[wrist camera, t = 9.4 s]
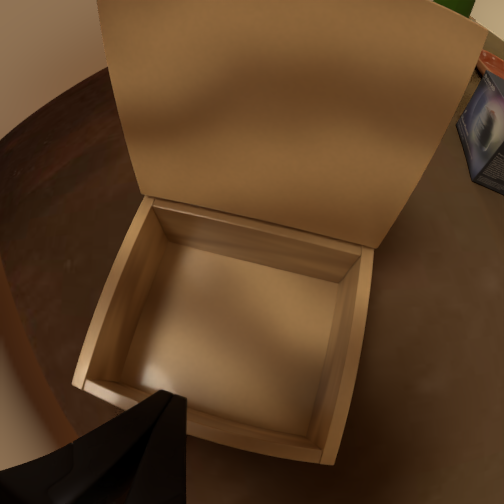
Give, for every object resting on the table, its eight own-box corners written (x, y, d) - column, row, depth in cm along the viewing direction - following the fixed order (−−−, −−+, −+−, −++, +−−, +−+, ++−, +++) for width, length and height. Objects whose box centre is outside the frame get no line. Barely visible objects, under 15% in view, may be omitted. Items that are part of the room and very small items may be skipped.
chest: (311, 446, 18) (334, 465, 12) (111, 387, 19) (71, 384, 14) (347, 280, 23) (374, 247, 17) (165, 235, 24) (145, 193, 19)
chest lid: (489, 30, 6) (451, 7, 8) (93, -22, 7) (150, -37, 9) (377, 249, 17) (376, 193, 19) (140, 194, 18) (170, 148, 21)
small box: (452, 123, 32) (484, 66, 22) (487, 139, 32) (520, 88, 22) (469, 181, 28) (516, 119, 18) (506, 197, 27) (553, 145, 18)
